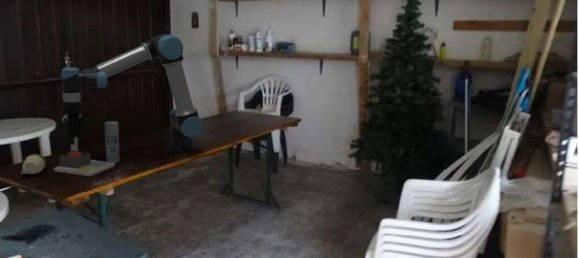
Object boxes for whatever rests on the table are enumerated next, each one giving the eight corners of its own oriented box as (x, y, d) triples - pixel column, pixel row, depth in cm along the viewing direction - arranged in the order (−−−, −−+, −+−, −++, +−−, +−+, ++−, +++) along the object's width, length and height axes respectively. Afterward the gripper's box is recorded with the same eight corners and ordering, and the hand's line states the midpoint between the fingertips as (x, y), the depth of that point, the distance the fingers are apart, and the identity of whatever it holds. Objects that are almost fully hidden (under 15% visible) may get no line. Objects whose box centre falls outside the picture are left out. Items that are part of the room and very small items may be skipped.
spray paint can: (105, 163, 243) (103, 124, 239) (106, 160, 250) (104, 121, 245) (119, 163, 245) (117, 123, 241) (120, 159, 251) (118, 121, 247)
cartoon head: (21, 185, 217) (39, 170, 236) (39, 174, 217) (55, 160, 236) (9, 169, 215) (27, 155, 234) (27, 158, 214) (44, 145, 234)
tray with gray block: (114, 165, 240) (114, 153, 239) (90, 176, 223) (89, 162, 222) (80, 161, 246) (80, 148, 244) (54, 171, 229) (53, 157, 228)
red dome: (86, 163, 237) (86, 149, 235) (76, 167, 230) (75, 153, 229) (74, 162, 239) (73, 148, 237) (64, 166, 232) (63, 151, 231)
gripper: (75, 98, 235) (77, 146, 240) (54, 102, 223) (57, 152, 228) (88, 100, 233) (90, 148, 238) (68, 103, 221) (71, 154, 226)
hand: (74, 150), depth 233 cm, fingers closed
